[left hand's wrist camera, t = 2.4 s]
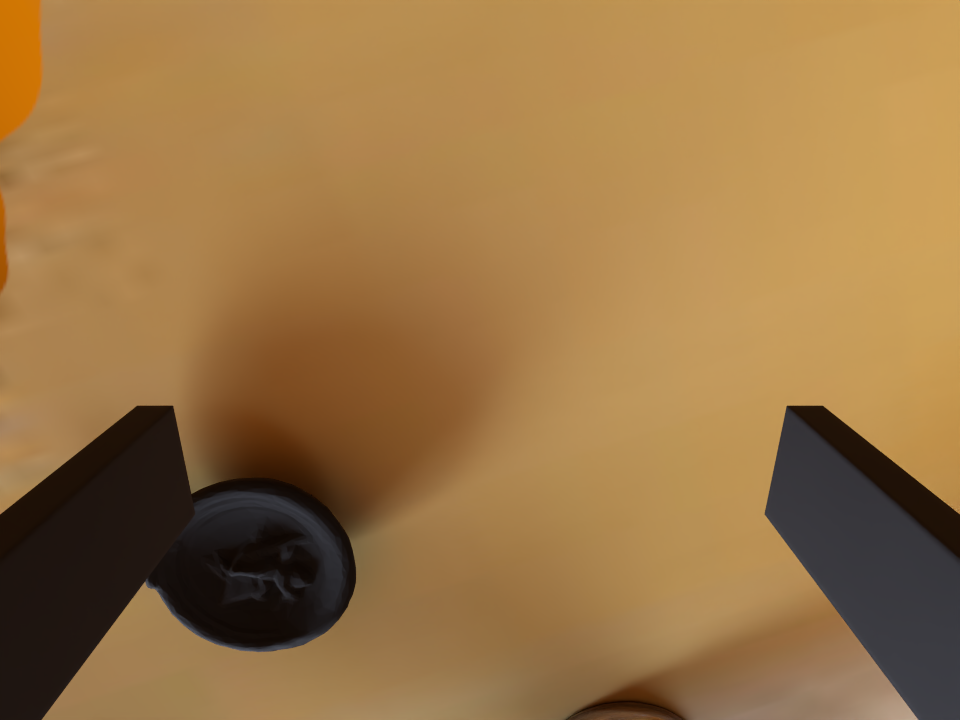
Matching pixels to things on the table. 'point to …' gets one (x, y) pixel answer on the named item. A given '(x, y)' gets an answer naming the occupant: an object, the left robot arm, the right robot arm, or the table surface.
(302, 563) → the oil lamp
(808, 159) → the table surface
